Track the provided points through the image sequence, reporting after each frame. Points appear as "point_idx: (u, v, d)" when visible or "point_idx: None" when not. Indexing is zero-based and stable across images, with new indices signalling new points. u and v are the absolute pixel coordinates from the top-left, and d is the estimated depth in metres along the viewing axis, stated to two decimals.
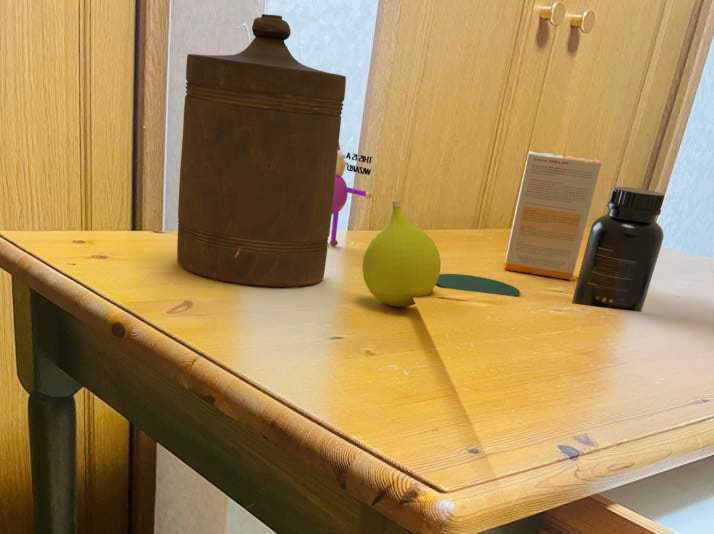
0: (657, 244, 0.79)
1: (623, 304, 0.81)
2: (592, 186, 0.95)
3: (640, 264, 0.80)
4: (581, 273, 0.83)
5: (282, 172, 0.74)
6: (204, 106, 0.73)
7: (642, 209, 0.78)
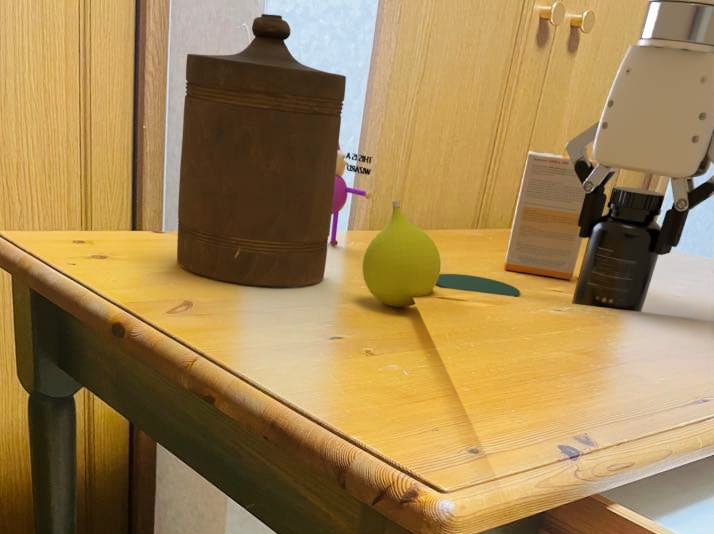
0: None
1: (623, 304, 0.81)
2: None
3: (640, 264, 0.80)
4: (581, 273, 0.83)
5: (282, 172, 0.74)
6: (204, 106, 0.73)
7: (642, 209, 0.78)
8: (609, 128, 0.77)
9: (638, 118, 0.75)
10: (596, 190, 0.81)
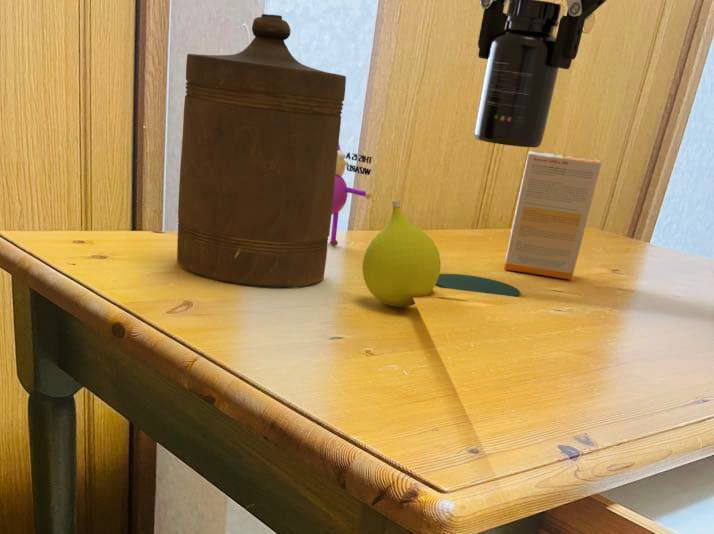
0: None
1: (522, 123, 0.80)
2: (592, 186, 0.95)
3: (537, 77, 0.78)
4: (481, 94, 0.82)
5: (282, 172, 0.74)
6: (204, 106, 0.73)
7: (537, 17, 0.77)
8: None
9: None
10: (494, 5, 0.80)
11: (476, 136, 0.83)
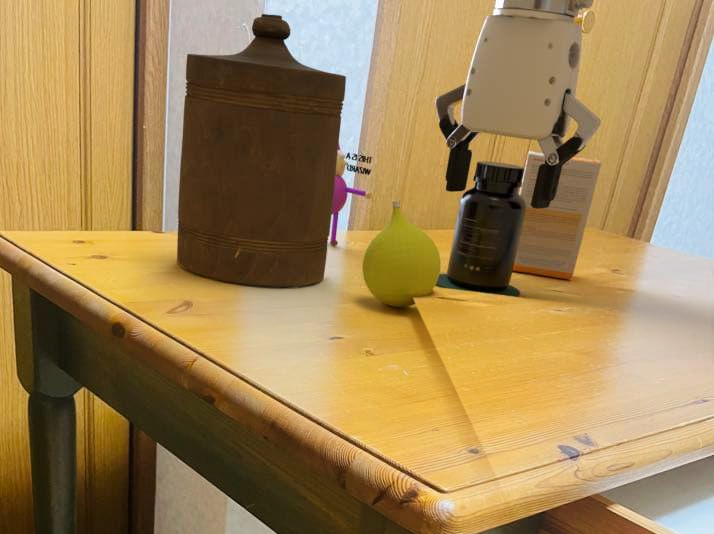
0: (518, 214, 0.85)
1: (489, 272, 0.87)
2: (593, 186, 0.95)
3: (502, 233, 0.85)
4: (452, 243, 0.88)
5: (282, 172, 0.74)
6: (204, 106, 0.73)
7: (502, 181, 0.83)
8: (473, 95, 0.82)
9: (497, 84, 0.80)
10: (459, 145, 0.86)
11: (448, 279, 0.90)
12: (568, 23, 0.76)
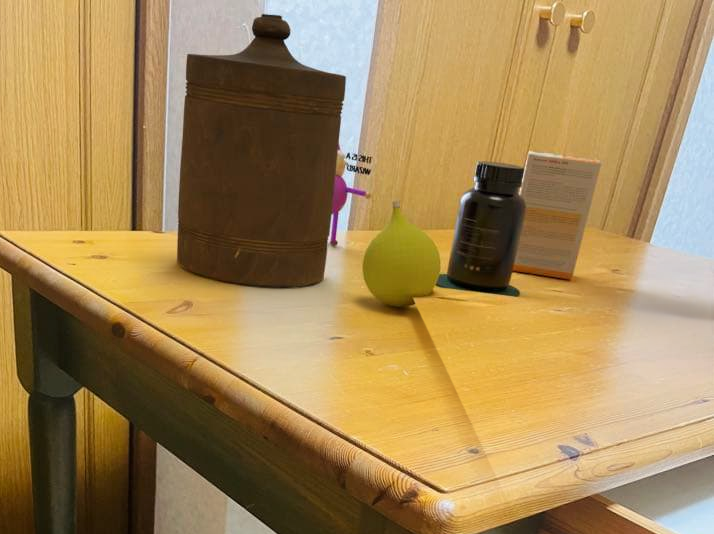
0: (518, 214, 0.85)
1: (489, 272, 0.87)
2: (592, 186, 0.95)
3: (502, 233, 0.85)
4: (452, 243, 0.88)
5: (282, 172, 0.74)
6: (204, 106, 0.73)
7: (502, 181, 0.83)
8: None
9: None
10: None
11: (448, 279, 0.90)
12: None
